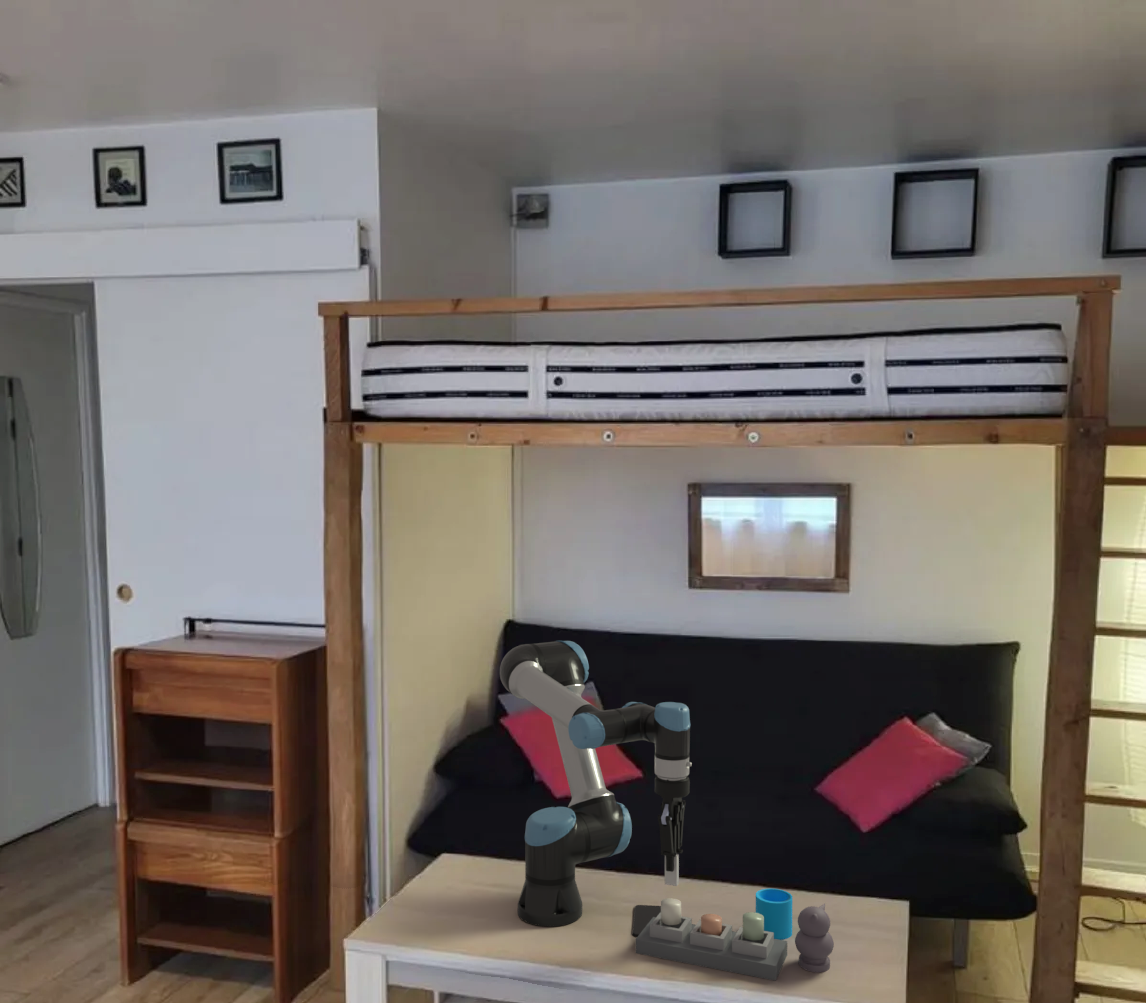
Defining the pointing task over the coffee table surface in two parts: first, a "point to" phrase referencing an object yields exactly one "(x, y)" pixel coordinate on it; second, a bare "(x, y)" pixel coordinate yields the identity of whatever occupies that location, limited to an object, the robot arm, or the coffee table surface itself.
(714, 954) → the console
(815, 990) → the coffee table surface
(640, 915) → the smartphone
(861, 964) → the coffee table surface
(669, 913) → the ivory button
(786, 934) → the mug
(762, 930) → the sage button
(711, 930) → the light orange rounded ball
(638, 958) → the coffee table surface
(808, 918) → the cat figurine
